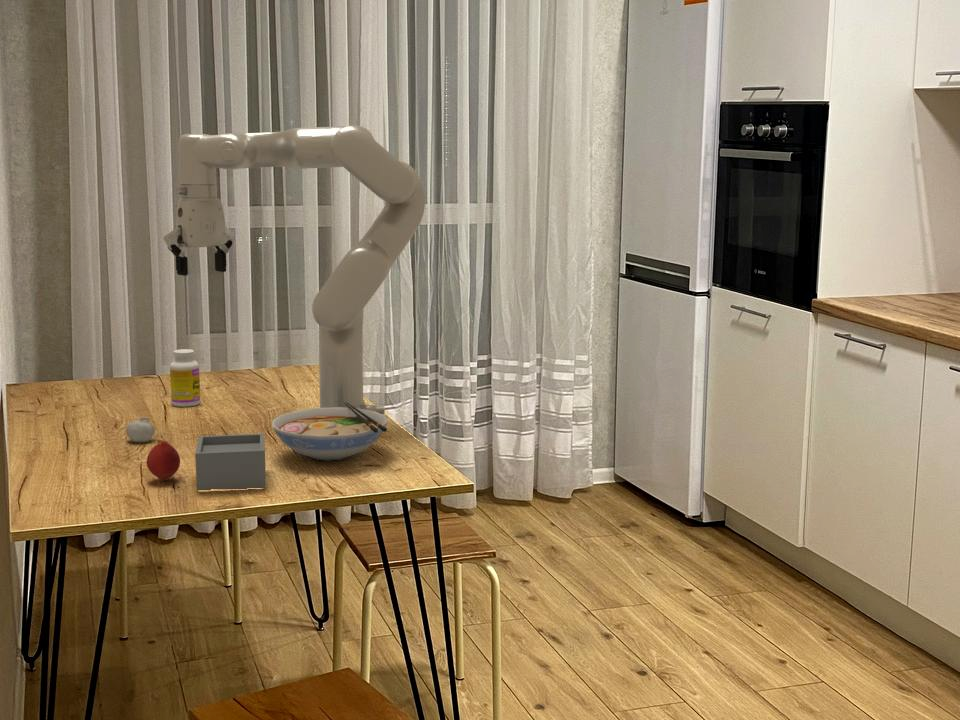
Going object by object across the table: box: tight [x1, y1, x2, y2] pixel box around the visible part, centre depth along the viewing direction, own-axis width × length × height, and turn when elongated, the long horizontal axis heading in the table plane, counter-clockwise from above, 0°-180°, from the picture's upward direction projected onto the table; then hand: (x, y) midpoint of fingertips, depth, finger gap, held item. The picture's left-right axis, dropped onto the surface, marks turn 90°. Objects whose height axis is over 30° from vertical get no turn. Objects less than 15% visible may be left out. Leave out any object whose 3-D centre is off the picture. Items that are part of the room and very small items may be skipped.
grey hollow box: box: [194, 432, 267, 491], centre depth 206 cm, size 12×12×8 cm
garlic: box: [126, 416, 156, 444], centre depth 233 cm, size 6×5×5 cm
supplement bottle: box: [169, 348, 201, 408], centre depth 264 cm, size 7×7×13 cm
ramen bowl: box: [271, 403, 388, 462], centre depth 222 cm, size 25×23×8 cm
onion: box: [146, 438, 181, 481], centre depth 206 cm, size 6×6×8 cm
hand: (201, 273), depth 242 cm, fingers open, 9 cm apart
